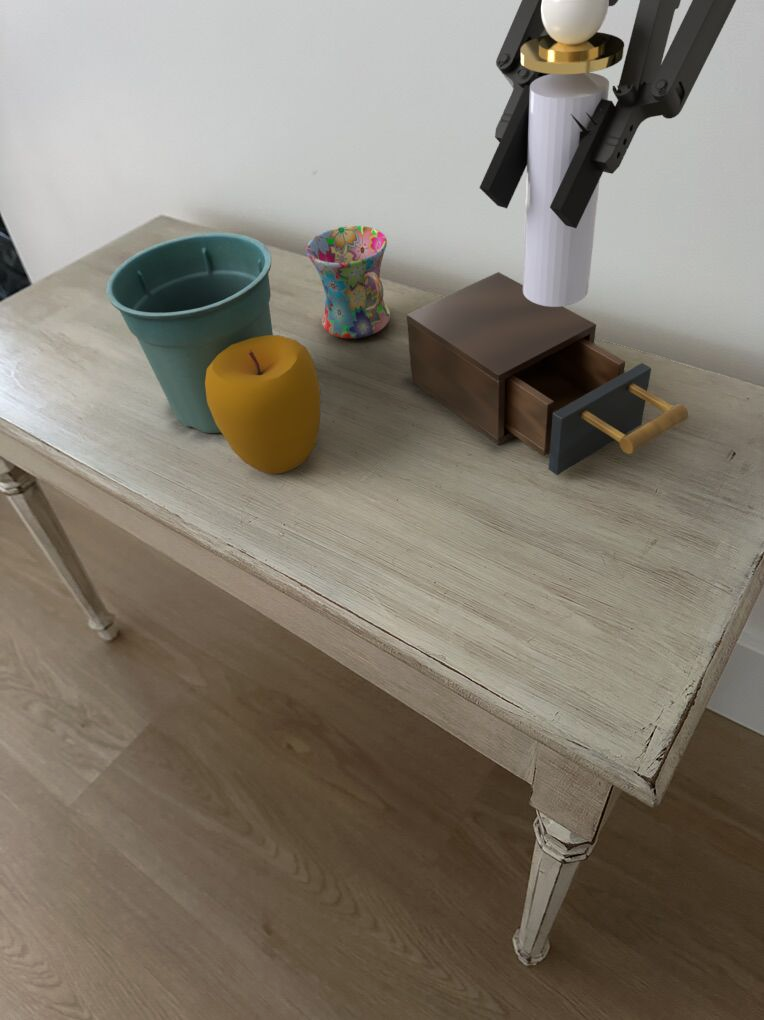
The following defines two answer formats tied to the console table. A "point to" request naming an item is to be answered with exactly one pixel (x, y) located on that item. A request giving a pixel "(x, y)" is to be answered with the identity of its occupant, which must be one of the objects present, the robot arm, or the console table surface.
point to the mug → (351, 280)
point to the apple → (266, 401)
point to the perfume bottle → (562, 143)
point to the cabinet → (485, 347)
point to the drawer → (583, 405)
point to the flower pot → (193, 310)
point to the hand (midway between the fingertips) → (527, 207)
